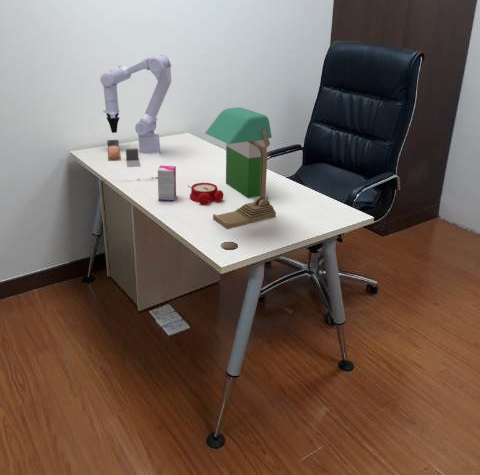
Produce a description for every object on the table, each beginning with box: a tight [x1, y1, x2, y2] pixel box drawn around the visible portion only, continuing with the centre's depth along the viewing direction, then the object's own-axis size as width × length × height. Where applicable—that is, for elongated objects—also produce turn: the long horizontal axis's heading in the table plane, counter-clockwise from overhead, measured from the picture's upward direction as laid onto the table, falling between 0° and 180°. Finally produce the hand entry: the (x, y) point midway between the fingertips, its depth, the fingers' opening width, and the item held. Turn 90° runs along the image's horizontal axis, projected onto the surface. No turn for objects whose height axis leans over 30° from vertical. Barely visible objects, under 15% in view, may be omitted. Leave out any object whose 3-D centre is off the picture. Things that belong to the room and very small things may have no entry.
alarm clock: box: [187, 182, 224, 206], centre depth 177 cm, size 11×6×15 cm
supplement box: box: [157, 165, 177, 202], centre depth 175 cm, size 6×6×12 cm
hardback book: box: [225, 139, 268, 199], centre depth 183 cm, size 18×7×24 cm, turn 28°
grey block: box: [125, 148, 141, 168], centre depth 210 cm, size 6×12×6 cm, turn 15°
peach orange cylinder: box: [106, 139, 122, 162], centre depth 219 cm, size 6×18×6 cm, turn 15°
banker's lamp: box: [204, 107, 277, 229], centre depth 155 cm, size 16×21×35 cm
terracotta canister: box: [107, 145, 121, 160], centre depth 214 cm, size 4×4×5 cm
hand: (114, 130), depth 227 cm, fingers open, 7 cm apart
